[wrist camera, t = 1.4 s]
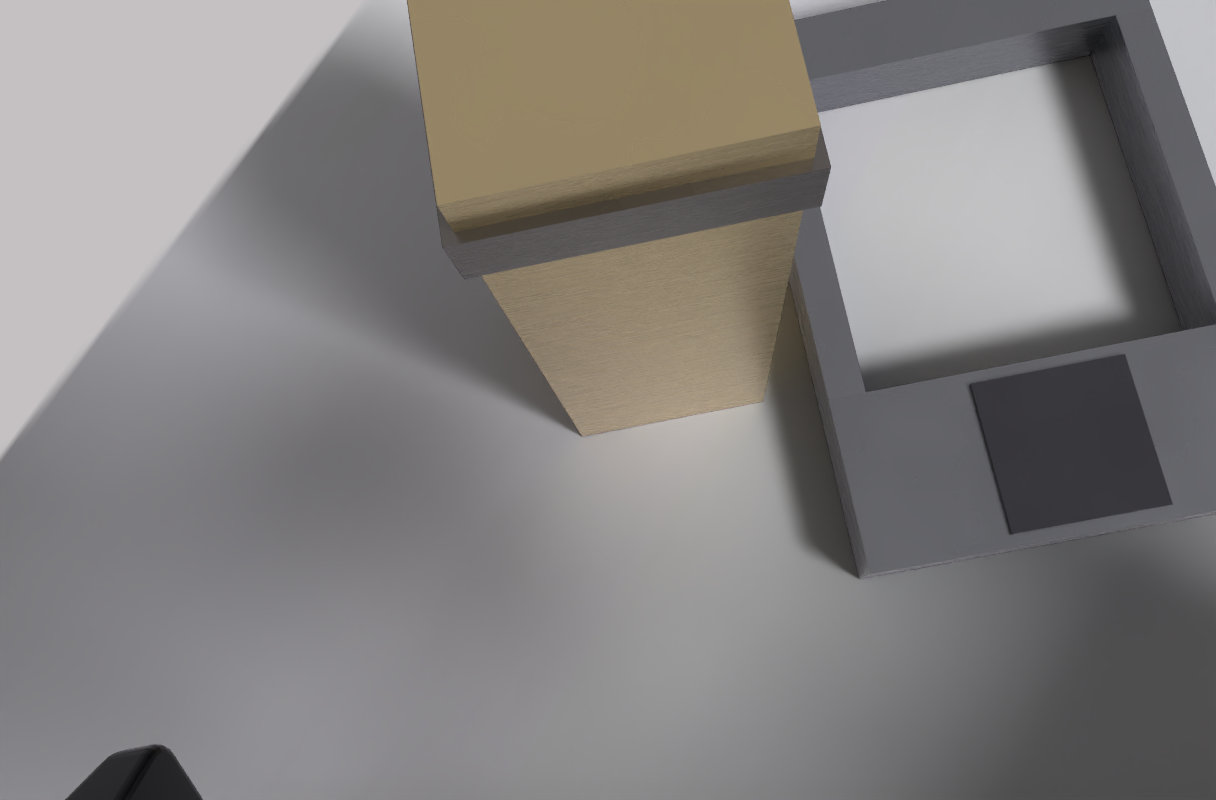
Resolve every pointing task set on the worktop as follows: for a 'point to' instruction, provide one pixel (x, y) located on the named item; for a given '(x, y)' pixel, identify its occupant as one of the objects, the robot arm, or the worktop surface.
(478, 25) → the post
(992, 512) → the rail plate
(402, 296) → the worktop surface
